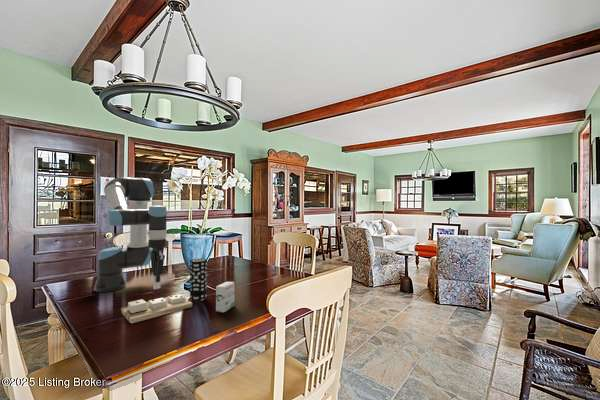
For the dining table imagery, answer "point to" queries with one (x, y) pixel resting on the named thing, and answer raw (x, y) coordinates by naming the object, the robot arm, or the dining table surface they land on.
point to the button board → (155, 311)
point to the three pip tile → (176, 299)
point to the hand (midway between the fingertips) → (156, 288)
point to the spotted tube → (198, 279)
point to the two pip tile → (157, 303)
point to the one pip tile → (137, 306)
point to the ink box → (225, 296)
